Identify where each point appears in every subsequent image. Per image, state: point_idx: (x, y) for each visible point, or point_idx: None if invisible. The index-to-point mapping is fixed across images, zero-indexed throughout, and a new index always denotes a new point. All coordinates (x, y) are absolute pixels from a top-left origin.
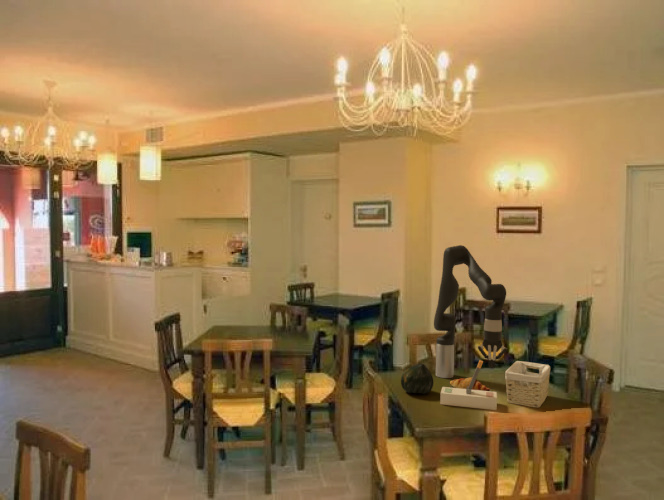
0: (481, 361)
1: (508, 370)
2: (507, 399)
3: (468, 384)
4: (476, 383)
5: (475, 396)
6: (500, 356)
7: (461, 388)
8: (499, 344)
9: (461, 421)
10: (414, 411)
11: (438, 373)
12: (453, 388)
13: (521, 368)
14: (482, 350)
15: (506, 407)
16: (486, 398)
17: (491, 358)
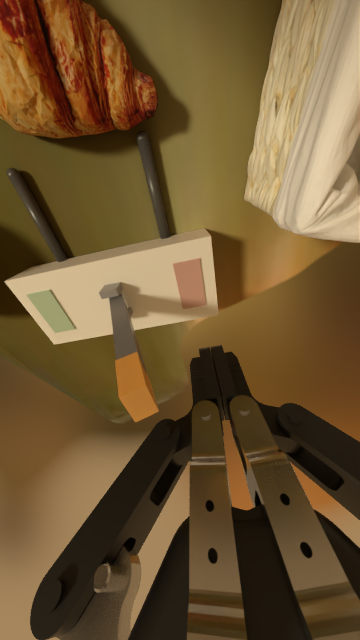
0: (144, 408)
1: (333, 181)
2: (246, 200)
3: (38, 126)
4: (69, 89)
5: (153, 325)
6: (317, 460)
7: (16, 129)
8: None
9: (158, 383)
10: (60, 380)
11: None
12: (49, 281)
13: None
14: (139, 547)
15: (239, 259)
16: (186, 319)
17: (222, 432)
